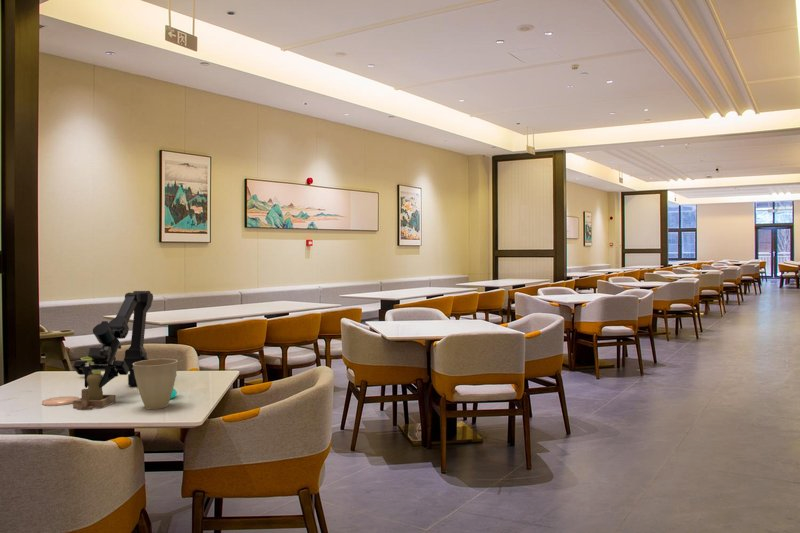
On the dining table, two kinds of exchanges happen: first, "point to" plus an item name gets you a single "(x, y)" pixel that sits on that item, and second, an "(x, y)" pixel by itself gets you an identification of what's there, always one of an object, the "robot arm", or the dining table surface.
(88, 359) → the plant pot
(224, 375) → the dining table surface
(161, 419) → the dining table surface
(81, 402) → the collar stand
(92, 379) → the olive bulb shape
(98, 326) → the robot arm
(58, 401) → the coaster
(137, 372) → the plant pot
